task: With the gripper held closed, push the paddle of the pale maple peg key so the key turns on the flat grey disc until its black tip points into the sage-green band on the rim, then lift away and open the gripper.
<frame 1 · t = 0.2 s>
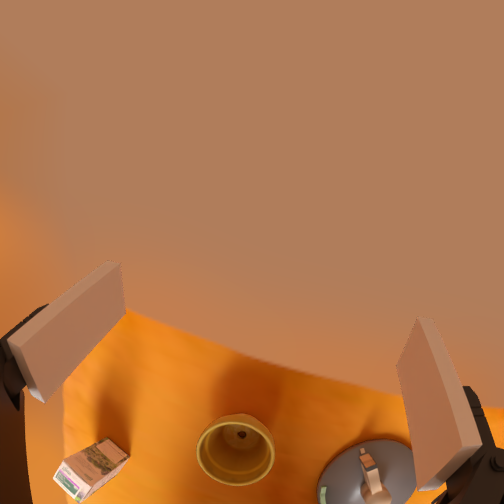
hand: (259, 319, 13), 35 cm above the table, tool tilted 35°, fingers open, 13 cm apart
plant pot: (242, 431, 44), on the table
tuning peg: (372, 482, 36), point 4 cm above the table, hinge at 0.0°
flat grey disc: (368, 483, 40), on the table
syrup box: (113, 454, 44), on the table
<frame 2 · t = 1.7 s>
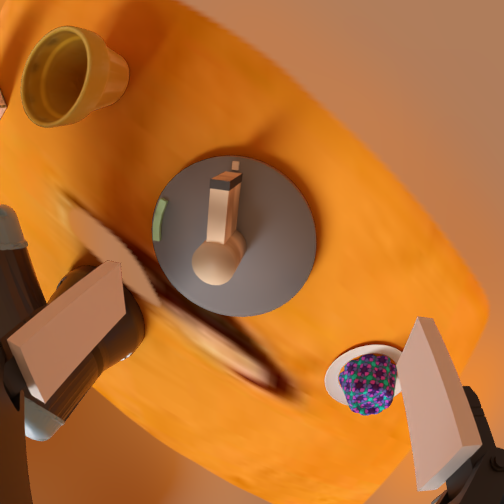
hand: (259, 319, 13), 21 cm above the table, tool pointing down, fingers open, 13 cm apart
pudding: (368, 374, 39), on the table
plant pot: (108, 80, 30), on the table
tuning peg: (222, 226, 29), point 5 cm above the table, hinge at 0.0°
flat grey disc: (232, 238, 35), on the table
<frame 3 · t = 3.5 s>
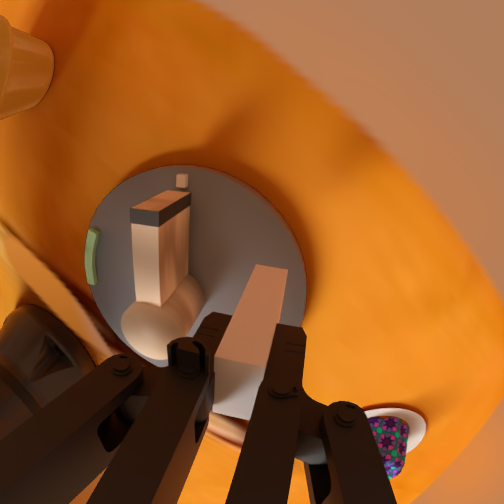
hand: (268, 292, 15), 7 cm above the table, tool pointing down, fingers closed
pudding: (372, 434, 29), on the table
plant pot: (33, 75, 20), on the table
tuning peg: (163, 275, 19), point 4 cm above the table, hinge at 0.0°
flat grey disc: (188, 282, 24), on the table
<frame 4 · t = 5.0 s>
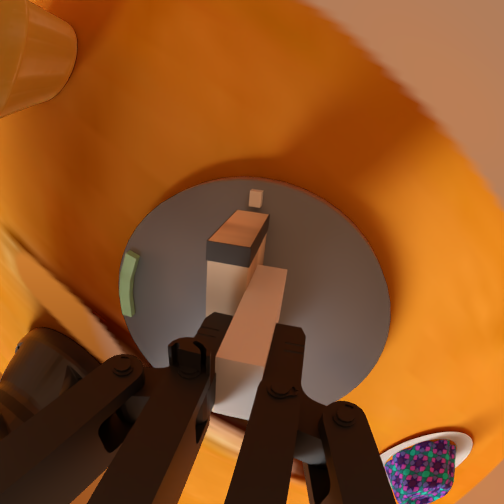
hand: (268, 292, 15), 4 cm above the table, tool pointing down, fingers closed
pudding: (420, 456, 25), on the table
plant pot: (50, 62, 17), on the table
tuning peg: (234, 317, 16), point 4 cm above the table, hinge at 0.0°, touching gripper
flat grey disc: (248, 314, 21), on the table
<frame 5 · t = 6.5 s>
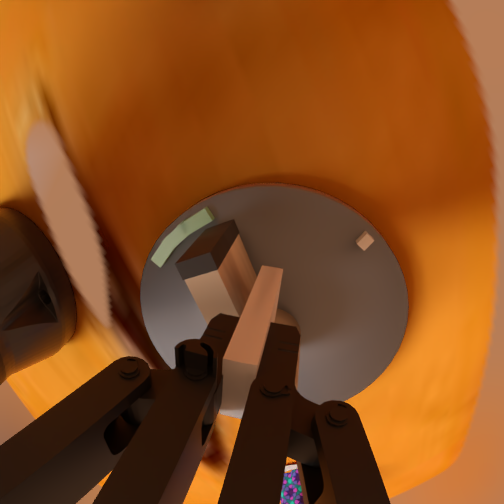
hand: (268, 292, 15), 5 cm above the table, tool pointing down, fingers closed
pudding: (310, 478, 31), on the table
tuning peg: (245, 320, 16), point 4 cm above the table, hinge at 60.0°, touching gripper
flat grey disc: (272, 315, 21), on the table
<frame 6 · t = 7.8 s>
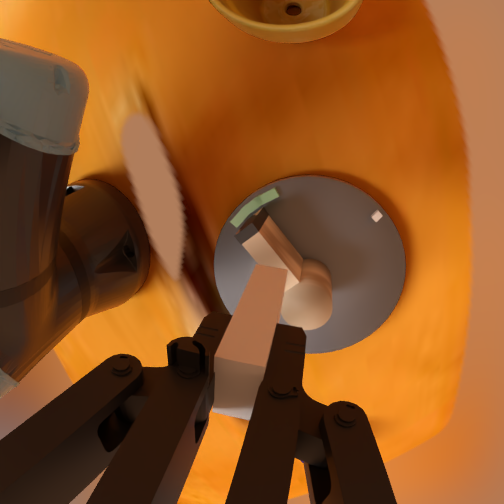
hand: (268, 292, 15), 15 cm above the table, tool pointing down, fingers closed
plant pot: (295, 13, 22), on the table
tuning peg: (287, 267, 25), point 5 cm above the table, hinge at 80.7°
flat grey disc: (310, 269, 30), on the table
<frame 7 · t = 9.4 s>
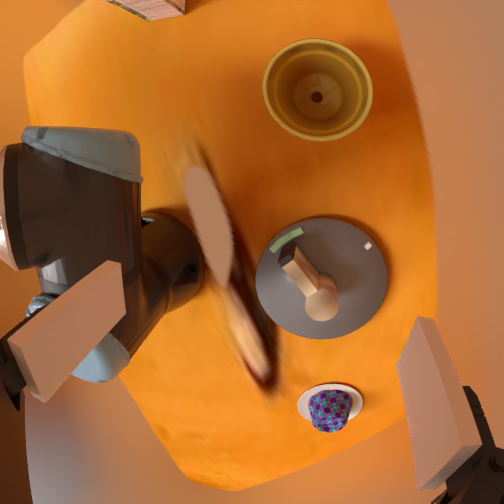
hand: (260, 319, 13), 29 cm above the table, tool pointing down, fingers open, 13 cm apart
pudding: (330, 402, 52), on the table
plant pot: (317, 98, 35), on the table
tuning peg: (309, 280, 39), point 4 cm above the table, hinge at 80.9°
flat grey disc: (322, 280, 43), on the table
syrup box: (169, 2, 32), on the table
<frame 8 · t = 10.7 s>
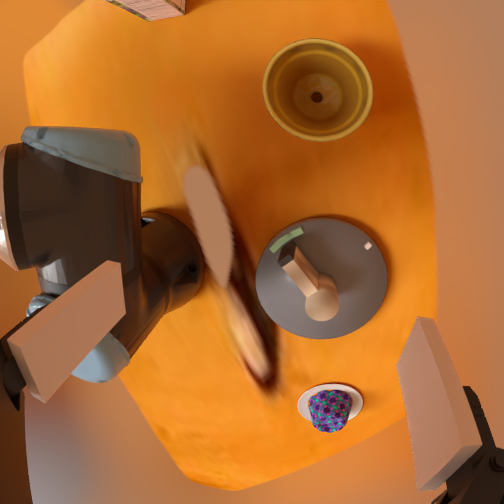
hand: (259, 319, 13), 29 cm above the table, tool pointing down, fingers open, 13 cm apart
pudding: (330, 402, 52), on the table
plant pot: (317, 98, 35), on the table
tuning peg: (309, 280, 38), point 4 cm above the table, hinge at 80.9°
flat grey disc: (322, 280, 43), on the table
syrup box: (169, 2, 32), on the table
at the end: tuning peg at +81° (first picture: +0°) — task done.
